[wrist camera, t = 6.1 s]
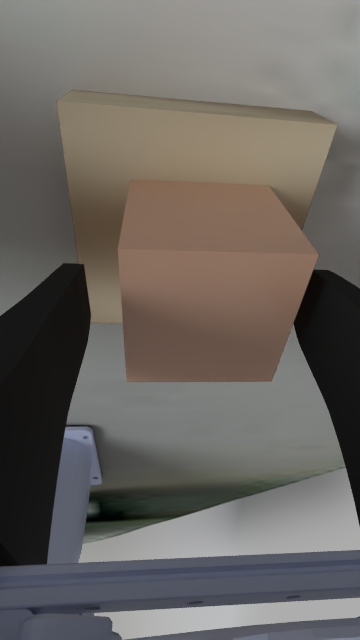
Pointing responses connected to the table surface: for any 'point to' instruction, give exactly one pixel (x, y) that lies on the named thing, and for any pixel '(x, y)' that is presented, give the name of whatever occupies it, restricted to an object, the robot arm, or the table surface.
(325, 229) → the table surface
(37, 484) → the robot arm
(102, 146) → the oak block
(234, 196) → the terracotta cube
